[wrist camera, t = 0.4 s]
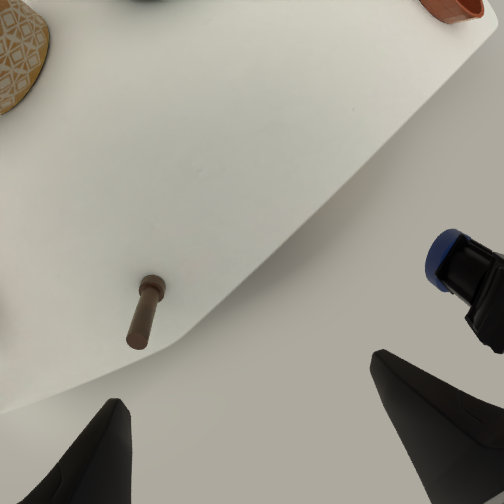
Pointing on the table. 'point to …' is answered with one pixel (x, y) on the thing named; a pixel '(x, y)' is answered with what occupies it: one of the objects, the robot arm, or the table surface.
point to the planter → (20, 50)
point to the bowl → (454, 10)
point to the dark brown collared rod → (145, 311)
